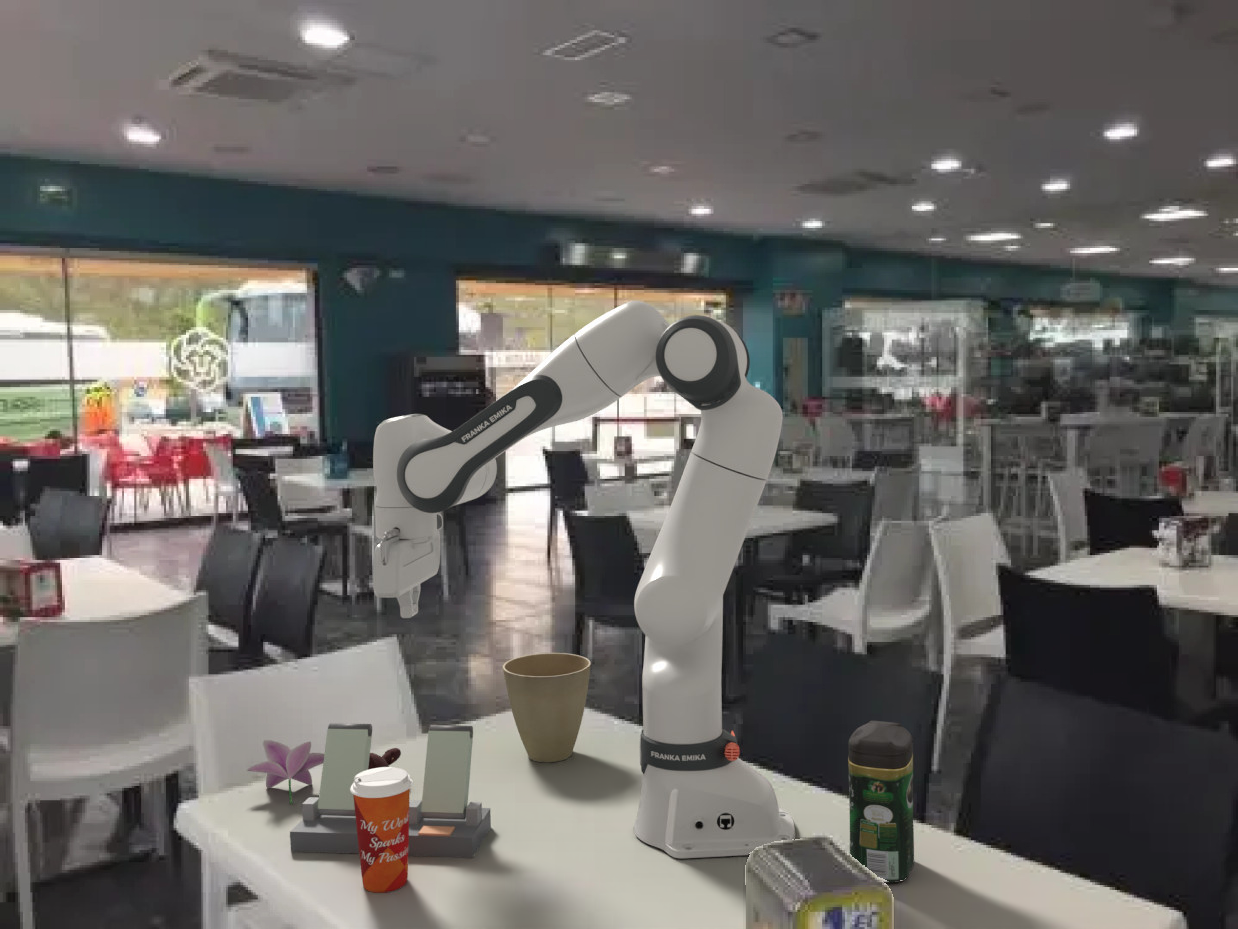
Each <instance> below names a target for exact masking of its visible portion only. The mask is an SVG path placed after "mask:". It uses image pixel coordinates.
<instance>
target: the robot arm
mask: <svg viewBox="0 0 1238 929" xmlns="http://www.w3.org/2000/svg"><path fill="white" fill-rule="evenodd" d="M750 360H751V359H750V353H749V349H748V347H747V345H746V343H745V342H744V340H743V338H741V336H740V335H739V334H738V333H737V332H736V331H735V330H734V329H733V328H732V327H731V326H730V325H728V324H727V323H725V322H723V321H721V320H718V319H715V318H712V317H710V316H705V315H696V314H695V315H688V316H684V317H681V318H679V319H678V320H675V321H674V322H672V323H669V322H668V321H667V320H666V318H665V317H664V315H662V313H661V312H660V311H659V310H657V308H655V307H654V306H652V305H651V304H649V303H647V302H644V301H641V300H630V301H628V302H625V303H622V304H620V305H619V306H616V307H614V308H613V309H610V310H609V311H607V312H605V313H603V314H602V315H600V316H598V317H597V318H595V319H593V320H592V321H590V322H589V323H588V324H586V325H585V326H583V327H582V328H580V329H579V330H578V331H576V332H575V333H574V334H572V335H571V336H569V337H568V339H566V340H565V341H563V343H561V344H560V345H559V346H558V347H557V348H555V349H554V351H552V352H551V353H550V354H549V355H548V356H547V357H545V359H543V361H541V362H540V363H539V364H538V365H537V366H535V368H534V369H533V370H532V371H530V372H529V373H528V374H527V375H526V376H525V377H523V379H522V380H520V381H519V382H518V383H517V384H516V385H515V386H513V387H512V388H511V389H510V390H509V391H508V392H506V393H505V394H503V395H502V396H501V397H499V398H498V399H497V400H496V401H494V402H492V403H491V404H490V405H488V406H487V407H486V408H484V409H483V410H481V411H480V412H478V413H477V414H475V415H474V416H472V417H471V418H470V419H468V420H467V421H466V422H464V423H462V424H461V425H460V426H458V427H457V428H455V429H454V430H450V429H448V428H445V427H443V426H441V425H440V424H438V423H436V422H434V421H433V420H432V419H431V418H430V417H428V415H425V414H422V413H413V414H412V413H411V414H406V415H401V416H400V415H399V416H395V417H394V416H393V417H391V418H388V419H385V420H383V421H381V422H380V423H379V425H377V427H376V428H375V434H374V438H373V451H372V452H373V454H372V456H373V457H372V461H373V462H372V465H373V467H372V468H373V479H374V481H375V482H374V483H375V485H376V497H375V500H374V513H375V514H374V516H375V517H374V518H375V537H376V538H378V539H381V541H380V543H378V544H377V545H376V546H375V547H374V548H375V549H374V552H373V553H374V554H373V568H372V569H373V571H372V572H373V573H372V574H373V575H372V576H373V581H372V582H373V592H374V595H375V597H377V598H388V599H389V598H391V599H392V598H396V599H397V602H398V605H399V610H400V617H401V618H402V619H411V618H412V617H413V616H415V615H417V614H418V613H419V599H420V594H421V584H422V583H424V582H425V581H427V580H429V579H430V578H432V577H434V576H435V575H437V574H438V572H439V568H440V561H441V533H440V530H442V528H444V526H443V525H444V522H443V521H444V520H443V515H442V514H440V513H441V512H444V511H446V510H448V509H450V508H452V507H455V506H457V505H461V504H464V503H467V502H470V501H472V500H476V499H478V498H480V497H482V496H483V495H485V494H486V493H488V492H489V491H490V490H491V489H492V487H493V486H494V484H495V483H496V480H497V476H498V462H497V458H498V457H499V456H501V455H502V454H503V453H505V452H506V451H507V450H509V449H510V448H512V447H513V446H515V445H516V444H517V443H519V442H521V441H522V440H523V439H525V438H527V437H529V436H531V435H533V434H535V433H538V432H540V431H543V430H547V429H549V428H553V427H557V426H561V425H565V424H569V423H570V424H571V423H573V422H574V423H575V422H578V421H581V420H584V419H586V418H588V417H590V416H592V415H595V414H597V413H598V412H600V411H602V410H604V409H606V408H608V407H609V406H611V405H612V404H614V403H615V402H617V401H618V400H619V399H621V398H622V397H623V396H625V395H626V394H627V393H628V392H630V391H632V390H633V389H634V388H635V387H637V386H639V385H640V384H642V383H644V382H645V381H647V380H649V379H651V378H655V377H661V379H662V381H663V382H664V383H665V384H666V385H667V386H668V387H669V389H671V391H673V392H674V393H676V394H677V395H679V396H680V397H681V398H682V399H684V400H685V401H687V403H689V404H690V405H691V406H692V407H694V408H695V409H696V410H700V415H701V418H700V419H701V420H700V424H699V428H698V431H697V435H696V437H695V439H694V443H693V446H692V448H691V451H690V453H689V456H688V459H687V462H686V464H685V466H684V469H683V473H682V474H681V478H680V480H679V483H678V486H677V489H676V492H675V494H674V496H673V499H672V502H671V505H670V507H669V509H668V512H667V514H666V517H665V519H664V521H663V524H662V526H661V529H660V531H659V533H658V534H657V538H656V540H655V542H654V545H653V548H652V550H651V553H650V555H649V558H648V560H647V562H646V565H645V568H644V570H643V573H642V575H641V576H640V580H639V582H638V584H637V588H636V591H635V595H634V600H633V604H634V605H633V607H634V614H635V618H636V622H637V624H638V627H639V628H640V630H641V632H642V633H643V634H644V635H645V638H644V640H645V642H644V652H643V668H642V677H641V679H642V681H641V682H642V684H641V686H642V725H643V726H642V729H641V732H640V736H639V765H640V770H641V774H642V779H641V791H640V798H639V803H638V804H639V805H638V809H637V815H636V818H635V822H634V826H633V832H634V834H635V836H636V837H637V838H638V839H639V840H641V841H642V842H643V843H645V844H647V845H650V846H652V847H655V848H659V849H660V850H662V851H664V852H665V853H667V854H668V855H669V856H671V857H672V858H674V859H695V858H698V859H699V858H715V857H716V858H717V857H732V856H733V857H735V856H749V855H748V854H749V853H750V852H752V851H753V850H754V849H755V848H756V847H759V846H762V845H764V844H767V843H771V842H774V841H781V840H792V839H794V838H795V839H796V829H795V822H794V820H793V817H792V816H791V815H790V813H789V812H788V811H786V810H785V809H784V808H781V807H779V804H778V799H777V794H776V793H775V790H774V788H773V785H772V784H771V782H770V781H769V779H768V778H767V777H766V776H764V775H763V774H762V773H760V772H758V771H757V770H756V769H755V768H753V767H751V766H750V765H749V764H747V763H746V762H745V761H744V760H742V759H741V758H739V757H740V755H741V754H740V750H741V749H740V748H741V747H740V746H739V745H738V741H737V740H738V739H737V737H736V735H735V733H734V730H730V731H731V732H729V731H727V730H726V729H724V728H723V714H722V713H723V708H722V704H723V703H722V666H723V665H722V663H723V661H722V660H723V631H724V630H723V623H724V622H723V621H724V619H723V618H724V617H723V616H724V615H723V614H724V594H725V591H726V588H727V586H728V583H729V581H730V578H731V576H732V573H733V570H734V568H735V564H736V562H737V560H738V557H739V554H740V552H741V548H742V546H743V544H744V541H745V539H746V536H747V533H748V531H749V529H750V525H751V522H752V520H753V518H754V515H755V513H756V510H757V507H758V505H759V501H760V500H761V497H762V494H763V491H764V489H765V486H766V483H767V481H768V478H769V475H770V473H771V471H772V470H771V469H772V466H773V464H774V460H775V457H776V453H777V450H778V445H779V442H780V437H781V433H782V432H781V430H782V426H783V419H784V418H783V417H784V415H783V410H782V408H781V405H780V404H779V402H778V401H777V400H776V399H775V398H774V397H773V396H772V395H771V394H769V392H766V391H765V390H763V389H761V388H759V387H756V386H754V385H753V384H750V382H749V381H748V380H747V377H748V374H749V370H750V364H751V363H750V362H751V361H750Z"/></svg>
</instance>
